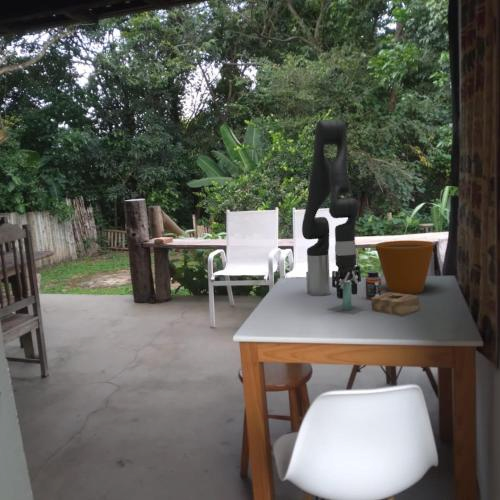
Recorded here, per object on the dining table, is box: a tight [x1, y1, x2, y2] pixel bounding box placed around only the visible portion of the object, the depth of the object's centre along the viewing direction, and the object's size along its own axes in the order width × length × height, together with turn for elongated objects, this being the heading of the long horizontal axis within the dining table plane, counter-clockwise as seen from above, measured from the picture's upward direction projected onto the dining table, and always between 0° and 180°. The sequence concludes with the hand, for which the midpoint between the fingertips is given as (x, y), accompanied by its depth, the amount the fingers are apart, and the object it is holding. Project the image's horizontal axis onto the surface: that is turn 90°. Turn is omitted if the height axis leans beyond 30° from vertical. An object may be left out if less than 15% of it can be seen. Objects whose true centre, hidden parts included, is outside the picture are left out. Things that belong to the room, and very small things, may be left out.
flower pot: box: [375, 239, 435, 294], centre depth 208 cm, size 24×24×20 cm
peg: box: [342, 281, 352, 310], centre depth 180 cm, size 3×3×10 cm
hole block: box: [370, 291, 420, 317], centre depth 176 cm, size 12×12×5 cm
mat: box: [327, 304, 368, 315], centre depth 181 cm, size 12×9×1 cm
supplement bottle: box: [365, 270, 382, 301], centre depth 195 cm, size 6×6×11 cm
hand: (347, 296), depth 180 cm, fingers open, 8 cm apart
